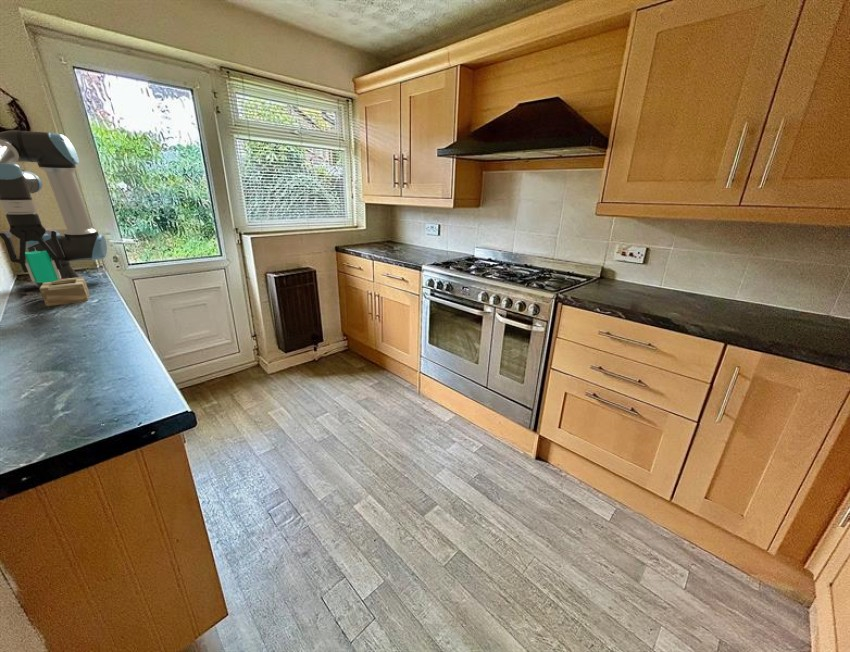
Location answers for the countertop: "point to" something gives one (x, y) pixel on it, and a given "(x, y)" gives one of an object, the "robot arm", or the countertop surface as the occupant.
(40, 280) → the candle
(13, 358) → the countertop surface
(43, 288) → the box
